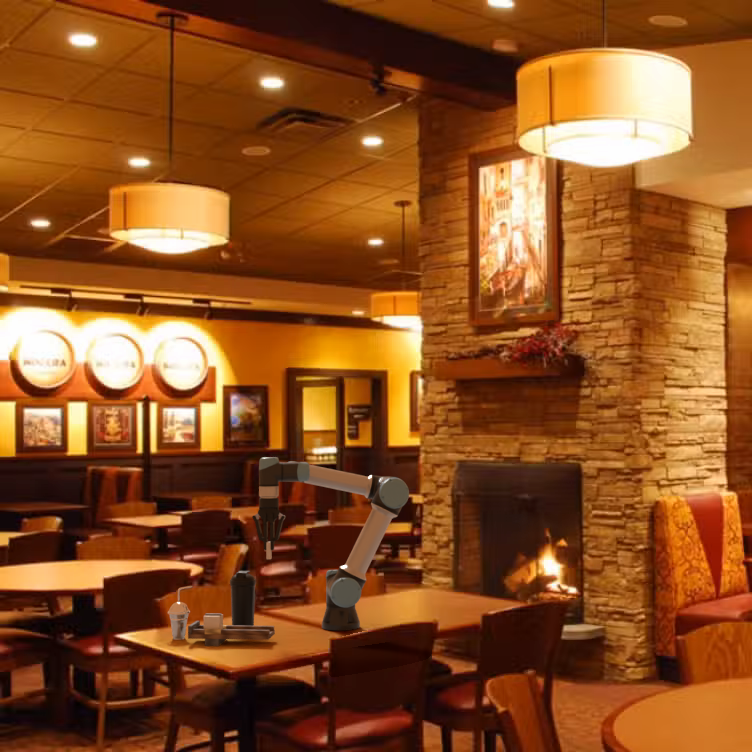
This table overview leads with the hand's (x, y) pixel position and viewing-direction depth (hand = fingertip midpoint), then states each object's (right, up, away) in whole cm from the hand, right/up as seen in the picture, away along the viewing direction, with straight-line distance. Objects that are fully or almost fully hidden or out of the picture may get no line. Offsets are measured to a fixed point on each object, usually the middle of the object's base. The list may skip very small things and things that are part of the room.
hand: (269, 558), depth 430 cm
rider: (-19, -25, -14) cm, 35 cm away
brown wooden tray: (-12, -29, -15) cm, 35 cm away
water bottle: (-11, -30, +12) cm, 34 cm away
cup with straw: (-33, -30, -6) cm, 45 cm away
